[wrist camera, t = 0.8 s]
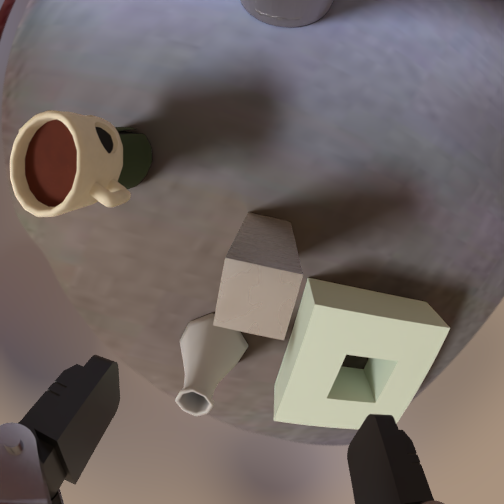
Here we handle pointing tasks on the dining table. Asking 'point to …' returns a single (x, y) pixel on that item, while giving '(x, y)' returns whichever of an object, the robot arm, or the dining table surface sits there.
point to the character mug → (75, 163)
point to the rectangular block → (260, 278)
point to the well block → (357, 344)
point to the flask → (206, 362)
